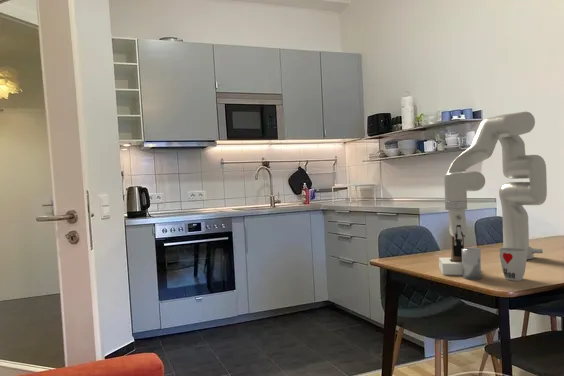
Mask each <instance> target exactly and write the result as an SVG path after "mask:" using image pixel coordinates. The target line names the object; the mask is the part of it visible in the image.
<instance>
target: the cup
mask: <svg viewBox="0 0 564 376" xmlns="http://www.w3.org/2000/svg"><path fill="white" fill-rule="evenodd" d="M499 258H500V264H501V269H502V273H503V275H504V279H506V280H508V281H514V282H516V281H517V282H518V281H519V282H520V281H523V278H524V275H525V272H526V267H527V260H528V259H527V250H526V249H523V248H511V247H509V248H503V247H500V248H499ZM526 259H527V260H526Z"/></svg>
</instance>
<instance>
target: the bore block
mask: <svg viewBox="0 0 564 376" xmlns="http://www.w3.org/2000/svg"><path fill="white" fill-rule="evenodd" d="M438 269H439V270H440V272H441V275H444V276H449V275H450V276H462V262H451V257H438Z"/></svg>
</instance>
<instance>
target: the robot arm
mask: <svg viewBox="0 0 564 376" xmlns="http://www.w3.org/2000/svg"><path fill="white" fill-rule="evenodd" d="M535 124H536V120H535V116H534V115H533V114H532V113H531V112H530V111H521V112H513V113H507V114H500V115H496V116H491V117H487V118H484V119H482V121H480V123H479V124H478V126H477V127H478V128H477V130H476V132H475V134H474V135H473V139H472V141H471V143H470V146H469V147H468V148H466V150H464V151H463V152H462V153H461V154H459V155H458V156H457V157H456V158H455V159H454V160H453V161H452V162H451V164H450V166H449V168H448V170H447V173H445V174H444V176H443V177H444V184H443V185H444V211H448V228H449V229H448V230H449V231H448V232H449V234H451V235H452V236H453V237H454V245H453V246H454V256H462V248H463V241H462V235H463V236H464V238H466V237H467V236H468V233H467V220H466V219H467V218H466V212H465V211H467V210H468V196H467V192H477V191H480V190H482V189H483V187H485V185H486V178H485V176H484V174H483V173H481V172H480V171H476V170H474V171H471V170H469V171H467V170H468V169H469V168H470V167H472V166H475V165H477V164H479V163H482V162H484V161H486V160H488V159H490V158H491V157H492V155H493V152H494V150H495V148H496V145H497V143H498V141H499V143H500V146H501V155H502V159H501V160H502V163H501V164H502V173H503V176H504V177H505V178H507V179H509V180H510V179H511V180H513V179H514V180H517V179H518V180H520V179H521V180H522V179H523V180H524V179H529V180H528V181H510V182H509V181H508V182H506V183H504V184H502V185H501V186H500V188H499V189H498V194H499V195H498V196H499V201H500V204H501V213H502V239H503V240H502V242H503V243H502V244H503V245H502V246H503V247H502V248H509V247H511V248H523V249H526V250H527V259H526V261H527V260H531V259H534V258H535V256H534V254H543V248H537V247H535V248H533V247H532V246H530V231H529V229H530V228H529V215H528V212H527V211H526V208H525V207H524V206H540V205H541V206H542V205H543V204H545V202H546V200H547V196H548V195H547V194H548V190H547V188H548V186H547V183H548V182H547V181H548V180H547V164H546V161H545V160H544V158H543V157H542V156H541V155H538V154H528V155H527V154H526V149H525V148H526V144H525V142H524V140H523V138H522V137H521V135H525V134H529V133H531V132H532V131H533V129H534V128H535ZM462 233H463V234H462ZM455 235H457V237H455Z"/></svg>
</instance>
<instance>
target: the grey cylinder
mask: <svg viewBox="0 0 564 376" xmlns="http://www.w3.org/2000/svg"><path fill="white" fill-rule="evenodd" d="M481 254H482V253H481V248H478V247H464V248H462V275H461V276H462V279H465V280H471V281H474V280H475V281H476V280H477V281H478V280H481V279H482V257H481V256H482V255H481Z"/></svg>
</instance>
